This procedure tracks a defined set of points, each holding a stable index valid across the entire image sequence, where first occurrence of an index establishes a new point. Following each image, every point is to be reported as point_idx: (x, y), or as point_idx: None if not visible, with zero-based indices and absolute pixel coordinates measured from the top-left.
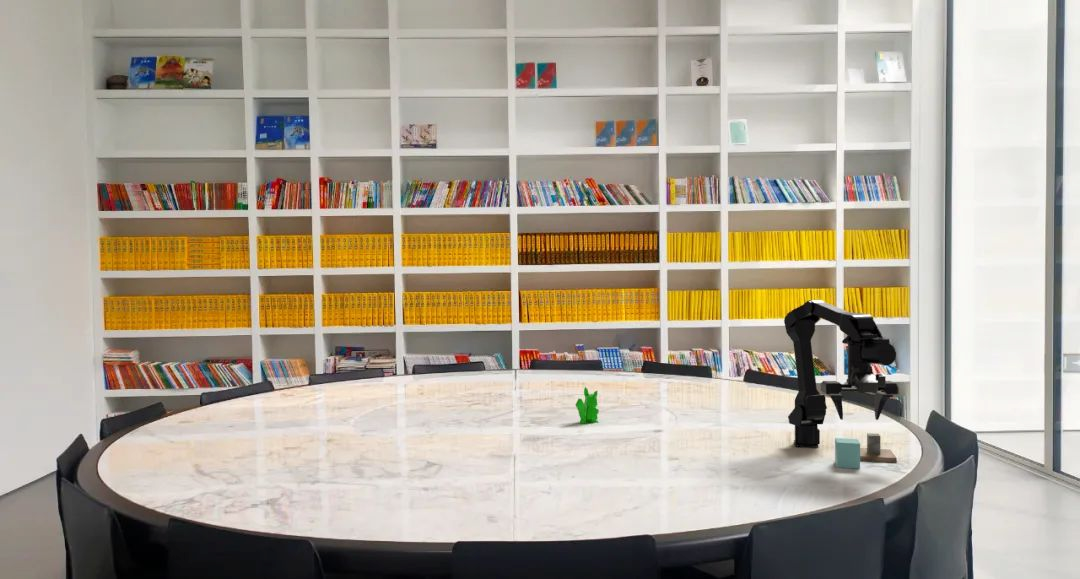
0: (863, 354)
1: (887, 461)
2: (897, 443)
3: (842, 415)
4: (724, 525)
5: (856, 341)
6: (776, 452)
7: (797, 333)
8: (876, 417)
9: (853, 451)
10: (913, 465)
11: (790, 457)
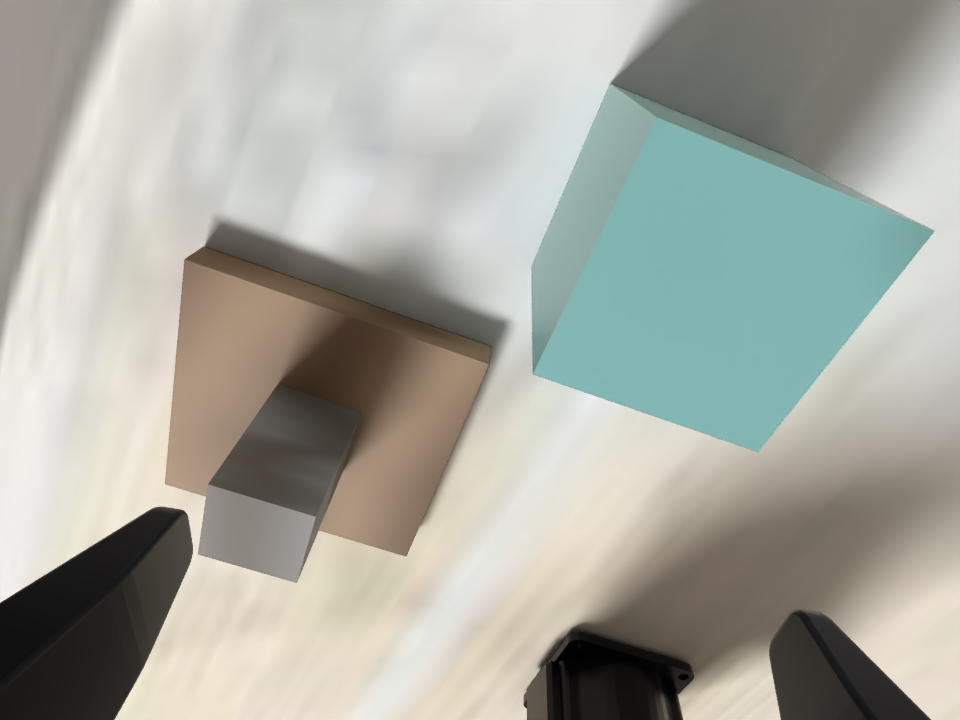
0: None
1: (269, 272)
2: None
3: (853, 680)
4: None
5: None
6: (909, 591)
7: None
8: (165, 549)
9: (707, 132)
10: (88, 136)
11: (924, 482)
